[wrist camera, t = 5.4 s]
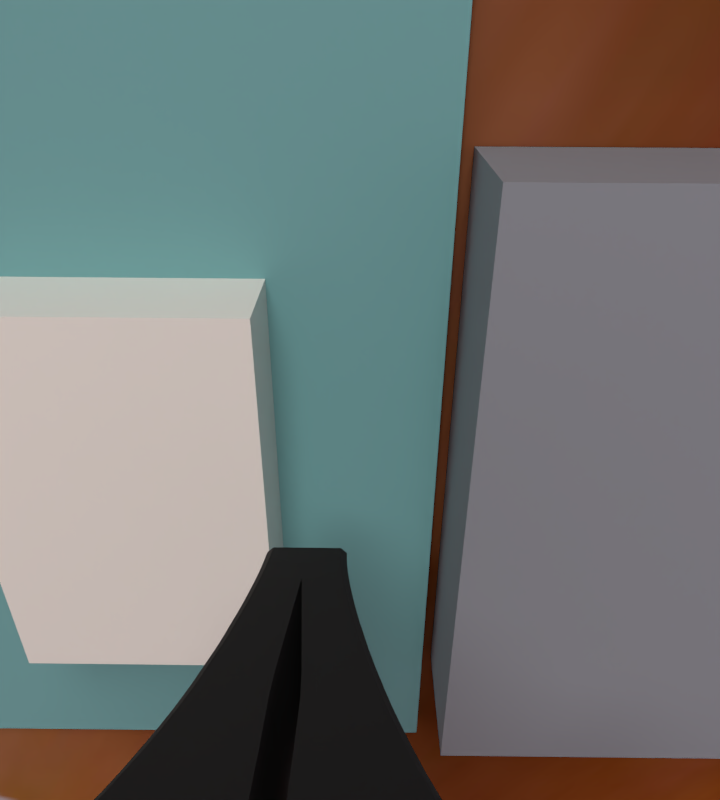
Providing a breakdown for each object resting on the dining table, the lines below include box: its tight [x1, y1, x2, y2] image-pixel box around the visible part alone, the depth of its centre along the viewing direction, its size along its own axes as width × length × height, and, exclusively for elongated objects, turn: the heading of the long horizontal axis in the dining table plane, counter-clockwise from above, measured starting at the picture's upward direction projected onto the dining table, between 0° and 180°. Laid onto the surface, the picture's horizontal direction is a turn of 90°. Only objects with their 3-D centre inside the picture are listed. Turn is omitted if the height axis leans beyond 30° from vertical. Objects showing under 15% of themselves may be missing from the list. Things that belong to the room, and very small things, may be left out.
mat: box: [0, 0, 472, 733], centre depth 16 cm, size 20×14×1 cm
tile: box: [0, 277, 283, 665], centre depth 15 cm, size 9×6×2 cm, turn 0°
